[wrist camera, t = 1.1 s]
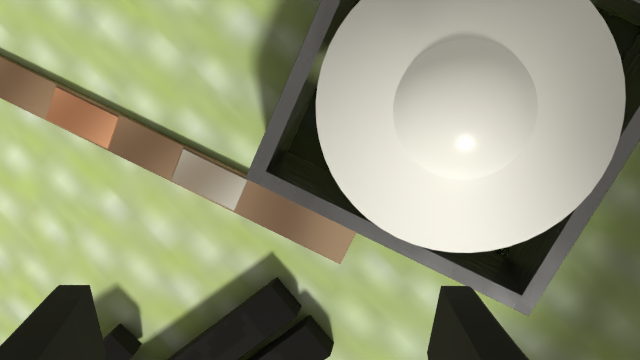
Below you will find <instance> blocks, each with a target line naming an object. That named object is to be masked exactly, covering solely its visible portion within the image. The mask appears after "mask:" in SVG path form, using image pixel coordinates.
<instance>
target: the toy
mask: <svg viewBox="0 0 640 360" xmlns="http://www.w3.org/2000/svg"><path fill="white" fill-rule="evenodd" d="M300 308H301V305H300V303H299V302H298V301H297V300H296V299H295V298H294V296H293V295H292V294H291V293H290V292H289V290H288V289H287V288H286V287H285V286H284V285H283V283H282V282H281V281H280V280H279V279H278V277H277V278H275V279H274V280H273V281H271V282H270V283H269V284H267V285H266V286H265V287H263V288H262V289H261V290H259V291H258V292H257V293H255V294H254V295H253V296H251V297H250V298H249V299H247V300H246V301H245V302H243V303H242V304H241V305H239V306H238V307H237V308H235V309H234V310H233V311H231V312H230V313H229V314H227V315H226V316H225V317H223V318H222V319H221V320H219V321H218V322H217V323H215V324H214V325H213V326H211V327H210V328H209V329H207V330H206V331H205V332H203V333H202V334H201V335H199V336H198V337H197V338H195V339H194V340H193V341H191V342H190V343H189V344H187V345H186V346H185V347H183V348H182V349H181V350H179V351H178V352H177V353H175V354H174V355H173V356H171V357H170V358H169V359H167V360H237V359H239V358H240V357H241V356H243V355H244V354H245V353H247V352H248V351H250V350H251V349H252V348H254V347H255V346H256V345H258V344H259V343H261V342H262V341H263V340H265V339H266V338H267V337H269V336H270V335H272V334H273V333H274V332H276V331H277V330H278V329H280V328H281V327H283V326H284V325H285V324H287V323H288V322H289V321H291V320H292V319H294V318H295V317H296V316H297V314H298V312H299V310H300ZM103 343H104V348H105V352H106V356H105V360H129V359H130V358H131V357H133V355H134V354H135V353H136V351H137V350H138V348H139V347H140V346H141V344H142V343H141V342H140V341H138V340H137V339H136V338H135V337H134V336H133V335H132V334H131V333H130V332H129V331H128V330H127V329H126V328H125V327H124V326H123V325H122V324H121V323H120V324H119V325H118V326H117V327H116V328H115V329H114V330H113V331H112V332H111V333H110V334H109V335H107V336H106V337H105V338H104V339H103ZM333 344H334V342H333V341H332V340H331V339H330V338H329V337H328V335H327V334H326V333H325V332H324V331H323V329H322V328H321V327H320V326H319V325H318V324H317V322H316V321H315V320H314V319H313V318H312V317H311V315H309V316H308V317H306V318H305V319H303V320H302V321H301V322H299V323H298V324H296V325H295V326H294V327H292V328H291V329H289V330H288V331H287V332H285V333H284V334H282V335H281V336H279V337H278V338H277V339H275V340H274V341H272V342H271V343H270V344H268V345H267V346H265V347H264V348H263V349H261V350H260V351H258V352H257V353H256V354H254V355H253V356H251V357H250V358H249V359H247V360H325V359H326V358H328V357H329V356H330V355H331V351H332V348H333Z"/></svg>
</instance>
